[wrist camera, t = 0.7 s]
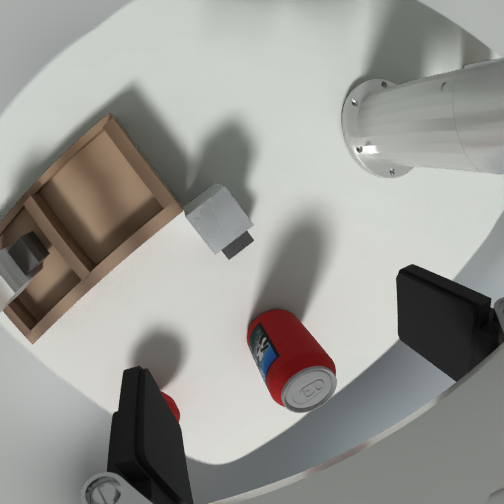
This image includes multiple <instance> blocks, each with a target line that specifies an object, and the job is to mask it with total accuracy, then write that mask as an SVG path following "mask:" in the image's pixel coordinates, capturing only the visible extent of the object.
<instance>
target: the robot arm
mask: <svg viewBox="0 0 504 504" xmlns="http://www.w3.org/2000/svg"><path fill="white" fill-rule="evenodd" d="M342 128H343V133H344V138H345V141H346V144H347V146H348V148H349V150H350V152H351V154H352V156H353V157H354V158H355V160H356V161H357V162H358V164H359V165H361V166H362V167H363V168H364V169H365V170H366V171H368V172H369V173H371V174H373V175H376V176H378V177H384V178H396V177H401V176H403V175H405V174H407V173H408V172H409V171H410V170H411V169H413V167H426V168H439V169H451V170H461V171H471V172H480V173H490V174H504V61H500V62H495V63H490V64H486V65H480V66H475V67H470V68H465V69H460V70H455V71H451V72H446V73H442V74H437V75H433V76H429V77H425V78H421V79H417V80H413V81H409V82H405V83H402V84H398V85H397V84H395V83H393V82H391V81H388V80H385V79H370V80H367V81H365V82H362V83H360V84H359V85H357V86H356V87H355V88H354V89H353V90H352V91H351V92H350V94H349V95H348V97H347V98H346V101H345V104H344V107H343V113H342ZM356 148H357V150H356ZM396 284H397V308H398V336H399V338H400V340H401V341H402V342H404V343H405V344H407V345H408V346H409V347H410V348H412V349H413V350H414V351H416V352H417V353H419V354H420V355H421V356H423V357H424V358H425V359H427V360H428V361H429V362H431V363H432V364H433V365H435V366H436V367H437V368H439V369H440V370H441V371H443V372H444V373H446V374H447V375H448V376H449V377H451V378H452V379H453V380H455V381H456V383H455V384H453V385H452V386H451V387H450V388H448V389H447V390H445V391H444V392H443V393H442V394H440V395H439V396H437V397H436V398H435V399H433V400H432V401H430V402H429V403H427V404H426V405H424V406H423V407H422V408H420V409H419V410H417V411H416V412H414V413H413V414H411V415H410V416H408V417H406V418H405V419H403V420H402V421H400V422H398V423H397V424H395V425H394V426H392V427H390V428H389V429H387V430H385V431H383V432H382V433H380V434H378V435H377V436H375V437H373V438H372V439H369V440H368V441H366V442H364V443H362V444H360V445H358V446H356V447H354V448H353V449H351V450H349V451H347V452H345V453H343V454H341V455H339V456H337V457H334V458H332V459H331V460H328V461H326V462H324V463H322V464H319V465H317V466H315V467H313V468H310V469H308V470H306V471H303V472H301V473H299V474H296V475H293V476H291V477H288V478H286V479H283V480H281V481H278V482H275V483H272V484H269V485H267V486H264V487H261V488H258V489H255V490H252V491H249V492H246V493H243V494H240V495H237V496H233V497H230V498H227V499H223V500H220V501H216V502H212V503H209V504H504V297H503V298H501V299H498V300H497V301H496V302H495V304H494V309H493V308H491V307H490V305H491V298H489V297H487V296H485V295H483V294H481V293H478V292H476V291H474V290H472V289H469V288H467V287H465V286H463V285H460V284H458V283H456V282H453V281H451V280H449V279H447V278H444V277H442V276H440V275H437V274H435V273H433V272H430V271H428V270H426V269H423V268H421V267H419V266H416V265H413V264H411V265H409V266H407V267H405V268H402V269H400V270H399V273H398V275H397V277H396ZM80 496H81V502H82V504H193V499H192V494H191V488H190V482H189V478H188V471H187V465H186V458H185V452H184V445H183V438H182V431H181V428H180V425H179V423H178V421H177V419H176V418H175V416H174V414H173V413H172V411H171V409H170V408H169V406H168V404H167V402H166V401H165V399H164V397H163V395H162V394H161V392H160V390H159V388H158V386H157V385H156V383H155V381H154V379H153V377H152V375H151V373H150V372H149V370H148V369H147V368H146V369H142V367H141V366H137V367H133V368H130V369H126V370H124V372H123V378H122V385H121V392H120V400H119V408H118V411H117V412H115V413H113V417H112V425H111V433H110V443H109V453H108V464H107V472H102V473H99V474H96V475H94V476H93V477H91V478H89V479H88V481H87V482H86V483H85V484H84V486H83V488H82V490H81V495H80Z"/></svg>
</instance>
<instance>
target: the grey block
mask: <svg viewBox="0 0 504 504" xmlns="http://www.w3.org/2000/svg"><path fill="white" fill-rule="evenodd" d="M183 208H184V212H185V217H186V218H187V219H188V221H189V222H190V223H191V225H192V226H193V227H194V228H195V230H196V231H197V232H198V233H199V235H200V236H201V237H202V239H203V240H204V241H205V242H206V244H207V245H208V246H209V247H210V249H211V250H212V251H213V252H214V254H215V255H216V254H217V253H218V252H219V251H221V250H222V252H223V253H224V254H225V255H226V257H227V258H228V259H229V260H230V259H231V258H232V257H233V256H235V255H236V254H237V253H239V252H240V251H241V250H243V249H244V248H245V247H246V246H248V245H249V244H250V243H252V242H253V241H254V240H253V238H252V237H251V235H250V234H249V233H248V231H247V230H248V229H249V228H251V227H252V226H253V223H252V222H251V221H250V219H249V218H248V216H247V215H246V214H245V212H244V211H243V210H242V208H241V207H240V205H239V204H238V203H237V201H236V200H235V199H234V197H233V196H232V194H231V193H230V192H229V190H228V189H227V188H226V186H223V185H220V184H216V183H214V184H213V185H212V186H210V187H209V188H208V189H206V190H205V191H204V192H202V193H201V194H200V195H198V196H197V197H196V198H194V199H193V200H192V201H191V202H189V203H188V204H187V205H185V206H184V207H183Z"/></svg>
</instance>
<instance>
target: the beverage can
mask: <svg viewBox="0 0 504 504" xmlns="http://www.w3.org/2000/svg"><path fill="white" fill-rule="evenodd" d="M247 343H248V346H249V348H250V351H251V353H252V355H253V358H254V360H255V362H256V365H257V367H258V369H259V371H260V373H261V375H262V378H263V380H264V382H265V384H266V386H267V388H268V390H269V392H270V394H271V396H272V398H273V399H274V401H275V402H277V403H278V404H280V405H282V406H284V407H286V408H287V409H288V410H290V411H292V412H296V413H305V412H309V411H312V410H315V409H317V408H319V407H320V406H322V405H323V404H325V403H326V402H327V401H328V400H329V399H330V398H331V396H332V395H333V393H334V391H335V389H336V385H337V379H336V369H335V364H334V362H333V360H332V359H331V358H330V357H329V355H328V354H327V353H326V352H325V350H324V349H323V348H322V347H321V346H320V344H319V343H318V342H317V341H316V340H315V338H314V337H313V336H312V335H311V334H310V333H309V331H308V330H307V329H306V328H305V327H304V326H303V324H302V323H301V322H300V321H299V320H298V319H297V318H296V316H295V315H293V314H292V313H290V312H288V311H286V310H271V311H268V312H265V313H263V314H261V315H260V316H259V317H257V318H256V319H255V320H254V321H253V323H252V324H251V326H250V327H249V330H248V333H247Z"/></svg>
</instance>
